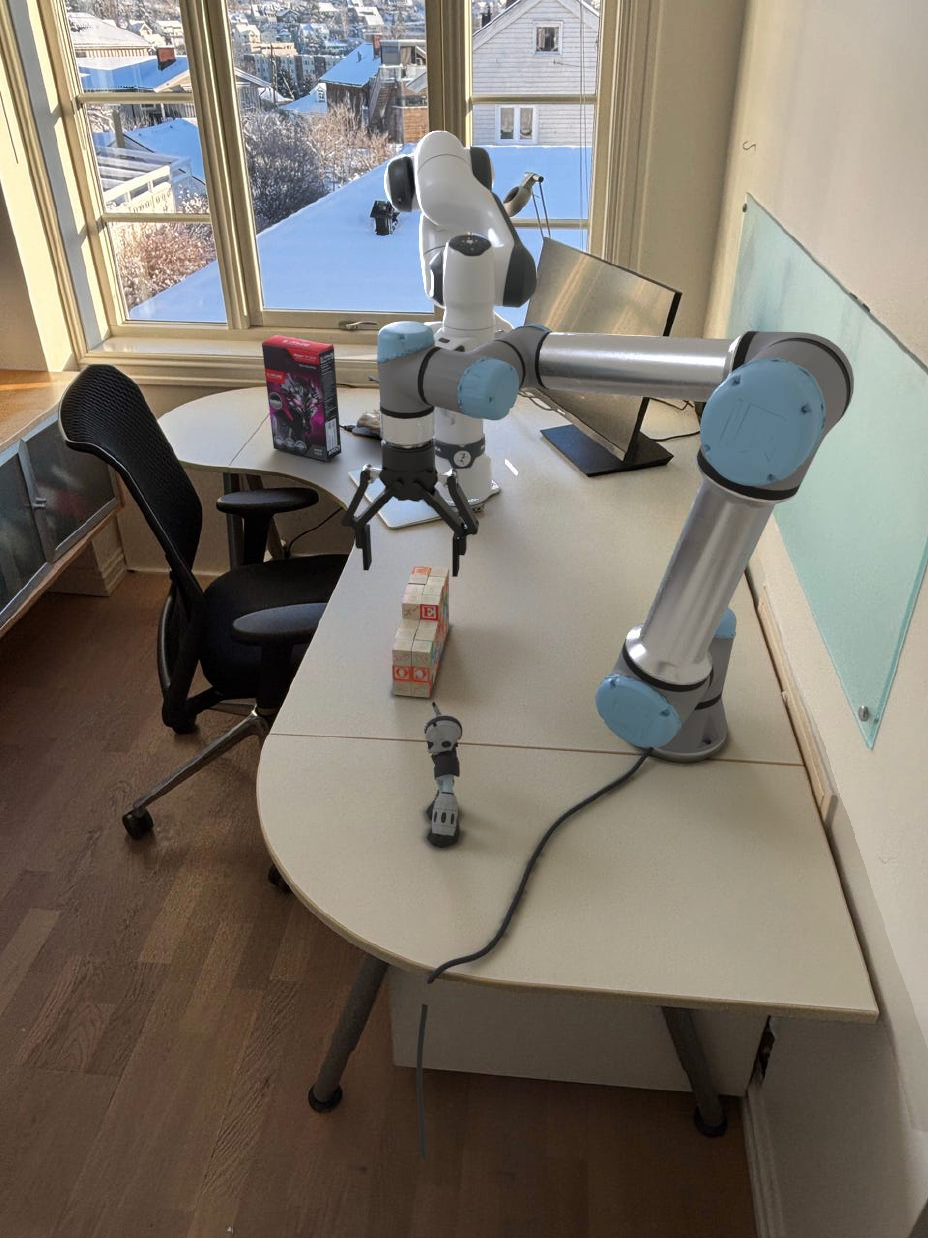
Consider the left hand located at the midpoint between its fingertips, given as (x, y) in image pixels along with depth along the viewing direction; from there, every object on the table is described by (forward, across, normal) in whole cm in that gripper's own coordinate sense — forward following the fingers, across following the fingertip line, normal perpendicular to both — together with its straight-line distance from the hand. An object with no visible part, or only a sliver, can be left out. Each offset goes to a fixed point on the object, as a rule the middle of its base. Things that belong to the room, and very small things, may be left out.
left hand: (468, 417), depth 164 cm
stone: (+32, -34, -60) cm, 76 cm away
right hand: (+10, +31, +19) cm, 38 cm away
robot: (+32, +50, +45) cm, 75 cm away
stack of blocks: (+32, +26, +15) cm, 44 cm away
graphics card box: (+32, -12, -69) cm, 77 cm away
